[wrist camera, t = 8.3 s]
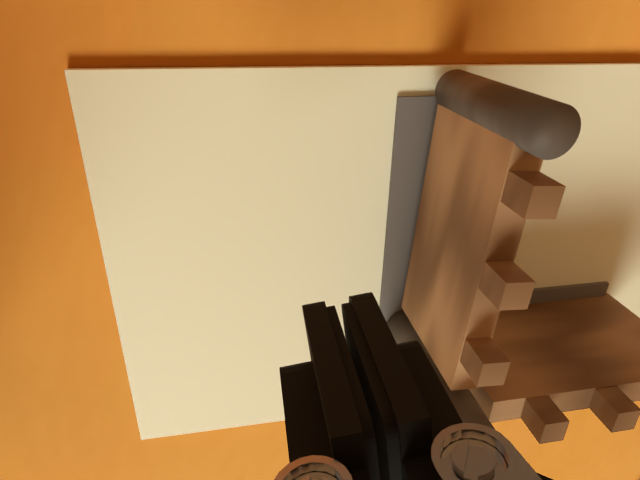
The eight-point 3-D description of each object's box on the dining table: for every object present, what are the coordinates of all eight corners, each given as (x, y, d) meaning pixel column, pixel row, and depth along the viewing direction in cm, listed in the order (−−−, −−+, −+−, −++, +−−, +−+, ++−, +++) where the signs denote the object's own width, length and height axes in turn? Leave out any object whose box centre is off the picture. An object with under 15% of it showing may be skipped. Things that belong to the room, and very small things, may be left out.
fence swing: (427, 305, 21) (501, 414, 16) (397, 307, 21) (461, 418, 16) (476, 70, 17) (600, 107, 12) (439, 68, 17) (546, 105, 11)
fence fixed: (604, 281, 24) (743, 386, 18) (594, 312, 25) (724, 422, 18) (382, 303, 22) (450, 429, 16) (379, 336, 23) (443, 468, 16)
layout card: (792, 61, 20) (808, 63, 20) (665, 363, 28) (673, 370, 27) (67, 68, 16) (62, 70, 15) (142, 433, 23) (140, 443, 22)
